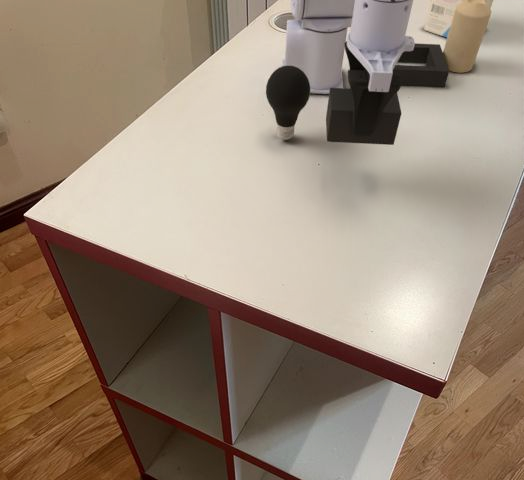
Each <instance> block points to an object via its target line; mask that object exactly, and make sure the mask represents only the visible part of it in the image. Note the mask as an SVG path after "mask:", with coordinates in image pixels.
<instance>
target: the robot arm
mask: <svg viewBox="0 0 524 480" xmlns="http://www.w3.org/2000/svg"><path fill="white" fill-rule="evenodd" d="M413 3H414V0H290V8H291V15H292V17H293V18H294V19H287V20H286V31H285V32H286V35H285V52H284V59H282V66H295V67H297V68H299V69H300V70H302V71H303V72H304V73H305V75H306V76H307V78H308V80H309V83H310V94H321V95H322V94H323V95H329V91H330V88H344V81H343V72H342V71H343V70H342V69H343V62H344V57H345V54H346V57H347V61H348V66H349V69H347V80H348V85H349V89H351V92H352V95H353V130H354V135H361V136H371V135H372V133H373V132H374V130H375V128H376V126H377V123H378V121H379V119H380V117H381V115H382V113H383V111H384V109H385V107H386V105H387V104H388V103H389V101H390V100H391V99H392V97H393V96H394V95H395V94H396V93H397V94H398V93H399V92H400V89H401V87H402V86H403V85H402V80H401V76H392V74H393V69H394V67H395V65H398V63H399V62H398V60H399V58H400V56H401V55H402V53H403V52H404V51H413V49H414V45H415V39H414V37H413V36H410V35H406V34H407V30H408V25H409V21H410V16H411V11H412V7H413ZM348 28H350V31H349V33H348ZM282 66H281V67H282Z"/></svg>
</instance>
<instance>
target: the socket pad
mask: <svg viewBox="0 0 524 480" xmlns="http://www.w3.org/2000/svg"><path fill="white" fill-rule="evenodd" d="M397 63H415V64H425V65H408V64H407V65H406V64H396V65H395V67H394V69H393V74H392V76H401V80H402V85H401V86H409V87H410V86H413V87H432V88H445V87H446V84H447V80H448V78H449V74H450V71H449V69H448V66H447V63H446V61H445V58H444V55H443V50H442V47H441V44H439V43H438V44H437V43H436V44H435V43H418V42H417V43H415V45H414V49H413V51H404V52H403V53H402V55H401V56H400V58H399V60H398V62H397Z"/></svg>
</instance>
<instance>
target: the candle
mask: <svg viewBox="0 0 524 480" xmlns="http://www.w3.org/2000/svg"><path fill="white" fill-rule="evenodd" d="M491 15H492V9H490V7H489V5H488V4H487V3H486V1H485V0H464V1H462V2H461V3H460V4H458V5H457V6H456V9H455V13H454V16H453V20H452V23H451V26H450V30H449V33H448V37H447V38H446V40H445V44H444V47H443V50H442V52H443V55H444V58H445V61H446V63H447V66H448V69H449V72H453V73H460V74H461V73H468V72H470V71H471V70H472V69H473V67H474V66H475V65H474V64H475V62H476V59H477V56H478V53H479V50H480V47H481V44H482V43H483V39H484V35H485V32H486V30H487V27H488V24H489V21H490V18H491Z"/></svg>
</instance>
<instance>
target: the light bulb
mask: <svg viewBox="0 0 524 480" xmlns="http://www.w3.org/2000/svg"><path fill="white" fill-rule="evenodd" d="M265 88H266V89H265V95H266V96H265V97H266V100H267V103H268V104H269V106H270V108H272V110H273V112H274V117H275V122H276V125H277V126H276V136H277V137H278V138H279V139H281V140H282V141H284V142H286V141H289V140H291V139H292V138H293V137H294V135H295V127H296V126H295V125H296V123H297V121H298V118H299V114H300V113H301V111H302V110H303V109H304V108H305V107H306V105H307V104H308V102H309V99H310V95H311V93H310V83H309V80H308V78H307V76H306V75H305V73H304V72H303V71H302V70H300V69H299V68H297V67H295V66H280V67H278V68H276V69H275V70H274V71H273V72H272V73H271V74H270V76H269V78H268V79H267V82H266V85H265Z"/></svg>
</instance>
